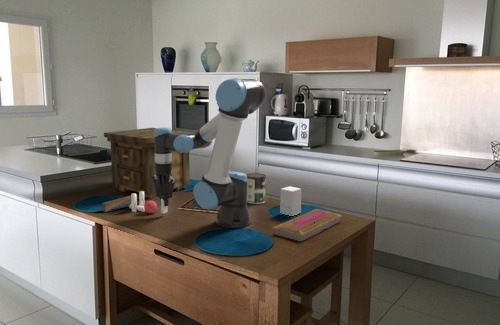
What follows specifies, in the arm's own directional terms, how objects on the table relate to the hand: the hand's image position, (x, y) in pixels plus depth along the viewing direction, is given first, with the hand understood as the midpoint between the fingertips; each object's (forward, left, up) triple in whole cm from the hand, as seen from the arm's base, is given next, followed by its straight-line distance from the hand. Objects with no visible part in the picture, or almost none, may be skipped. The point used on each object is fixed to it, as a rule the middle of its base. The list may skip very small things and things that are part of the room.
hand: (164, 212), depth 199 cm
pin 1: (+17, +2, -2) cm, 17 cm away
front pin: (+13, 0, -1) cm, 13 cm away
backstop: (+28, +1, -2) cm, 28 cm away
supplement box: (-46, -37, -2) cm, 59 cm away
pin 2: (+17, -2, -2) cm, 17 cm away
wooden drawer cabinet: (+40, -32, -2) cm, 51 cm away
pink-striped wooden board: (-62, -25, -3) cm, 66 cm away
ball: (+9, 0, +1) cm, 9 cm away
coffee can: (-21, -46, -2) cm, 51 cm away
